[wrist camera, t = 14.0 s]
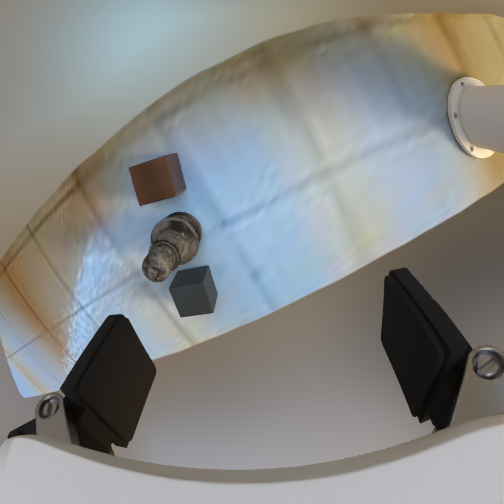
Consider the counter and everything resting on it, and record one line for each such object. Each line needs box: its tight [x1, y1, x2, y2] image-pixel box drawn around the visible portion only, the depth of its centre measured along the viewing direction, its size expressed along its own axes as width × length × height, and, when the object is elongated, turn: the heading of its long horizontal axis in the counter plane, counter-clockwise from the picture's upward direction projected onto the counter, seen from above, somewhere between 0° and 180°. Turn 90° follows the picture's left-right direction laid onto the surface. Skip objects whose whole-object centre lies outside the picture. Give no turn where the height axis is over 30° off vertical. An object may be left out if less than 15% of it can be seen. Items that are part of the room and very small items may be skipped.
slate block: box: [169, 266, 217, 317], centre depth 35 cm, size 4×4×4 cm
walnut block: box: [129, 153, 186, 206], centre depth 29 cm, size 4×4×4 cm
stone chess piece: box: [142, 212, 202, 282], centre depth 29 cm, size 6×6×12 cm
